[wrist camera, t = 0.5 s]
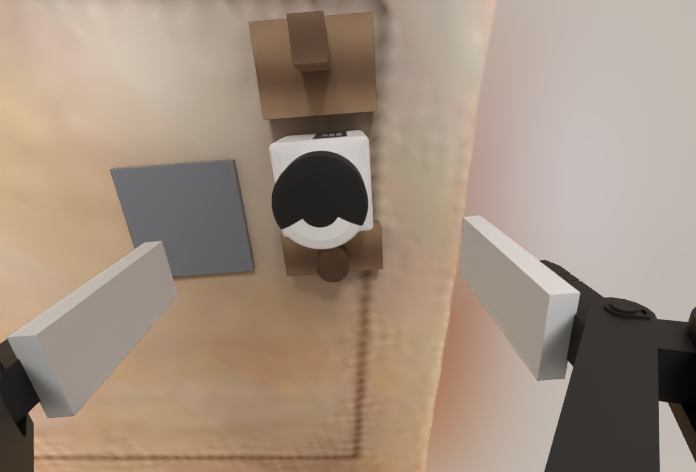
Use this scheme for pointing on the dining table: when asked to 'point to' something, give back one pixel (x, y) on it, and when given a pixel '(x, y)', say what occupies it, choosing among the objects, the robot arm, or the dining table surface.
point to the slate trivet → (188, 214)
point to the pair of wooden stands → (319, 107)
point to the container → (322, 187)
